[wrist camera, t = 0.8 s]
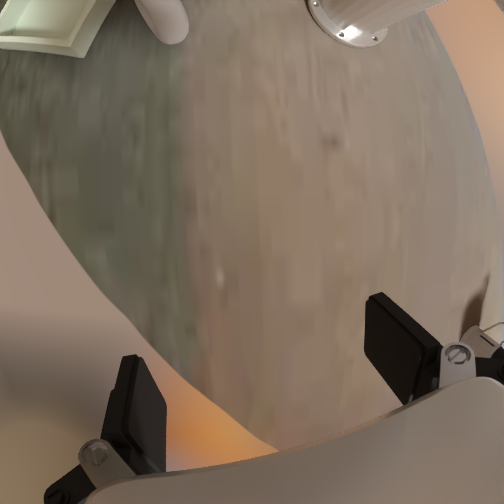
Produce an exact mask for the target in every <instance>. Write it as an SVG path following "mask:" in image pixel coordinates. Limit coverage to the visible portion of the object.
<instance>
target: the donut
mask: <svg viewBox="0 0 504 504" xmlns="http://www.w3.org/2000/svg"><path fill="white" fill-rule="evenodd" d="M134 1H135V3H136V6H137V8H138V10H139V11H140V13H141V15H142V17H143V18H144V20H145V22H146V23H147V25H148V26H149V28H150V29H151V31H152V32H153V33H154V35H155V36H156V37H157V38H158V39H159V40H160V41H161V42H163V43H165V44H177V43H180V42H181V41H183V40H184V39H185V38H186V36H187V34H188V31H189V22H188V17H187V14H186V11H185V9H184V7H183V5H182V2H181V1H180V0H134Z"/></svg>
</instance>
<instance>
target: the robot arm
mask: <svg viewBox="0 0 504 504" xmlns="http://www.w3.org/2000/svg"><path fill="white" fill-rule="evenodd" d="M444 1H447V0H308V6H309V10H310V12H311V14H312V16H313V18H314V20H315V21H316V22H317V24H318V25H319V26H320V27H321V28H322V29H323V30H324V31H325V32H326V33H327V34H328V35H330V36H331V37H332V38H334V39H336V40H337V41H339V42H341V43H343V44H346V45H349V46H352V47H358V48H366V47H371V46H374V45H376V44H378V43H380V42H381V41H382V40H383V39H384V38H385V36H386V35H387V32H388V26H390V25H392V24H394V23H396V22H398V21H401V20H403V19H405V18H407V17H409V16H412V15H414V14H416V13H418V12H421V11H423V10H425V9H427V8H430V7H432V6H435V5H437V4H440V3H442V2H444ZM494 1H495V2H496V4H497V5H498V6H499V8H500V9H501V11H502V12H503V13H504V0H494ZM364 352H365V355H366V357H367V358H368V359H369V360H370V362H371V363H372V364H373V366H374V367H375V368H376V370H377V371H378V372H379V374H380V375H381V376H382V377H383V379H384V380H385V381H386V383H387V384H388V385H389V387H390V388H391V389H392V391H393V392H394V393H395V395H396V396H397V397H398V399H399V400H400V401H401V403H402V404H403V405H404V406H402V407H400V408H397V409H395V410H393V411H391V412H389V413H387V414H384V415H382V416H380V417H378V418H375V419H373V420H371V421H368V422H366V423H363V424H361V425H358V426H356V427H353V428H351V429H348V430H345V431H343V432H340V433H337V434H335V435H332V436H329V437H326V438H323V439H320V440H317V441H314V442H311V443H308V444H305V445H301V446H298V447H294V448H291V449H287V450H284V451H280V452H276V453H272V454H269V455H265V456H260V457H256V458H251V459H247V460H242V461H237V462H232V463H227V464H221V465H215V466H209V467H202V468H195V469H188V470H180V471H171V472H166V416H167V406H166V402H165V400H164V398H163V396H162V394H161V392H160V391H159V389H158V387H157V385H156V383H155V381H154V379H153V378H152V375H151V373H150V371H149V370H148V368H147V366H146V364H145V362H144V360H143V358H142V357H138V356H137V355H136V354H135V355H128V356H123V357H122V361H121V364H120V368H119V372H118V377H117V380H116V384H115V388H114V389H113V390H112V391H111V393H110V397H109V401H108V405H107V410H106V414H105V418H104V423H103V428H102V433H101V437H100V439H92V440H89V441H87V442H86V443H85V444H84V445H82V447H81V448H80V450H79V453H78V460H79V463H80V464H79V465H78V466H76V467H75V468H74V469H72V470H71V471H70V472H68V473H67V474H66V475H65V476H63V477H62V478H60V479H59V480H58V481H56V482H55V483H53V484H52V485H51V486H50V487H49V488H48V489H47V490H46V492H45V494H44V504H504V359H495V358H483V357H475V355H474V351H473V350H472V348H471V347H470V346H468V345H467V344H464V343H460V342H452V343H449V344H447V345H446V346H444V347H443V346H442V345H441V344H440V342H438V341H437V340H436V339H435V338H434V337H433V336H432V335H431V334H430V333H429V332H427V331H426V330H425V329H424V328H423V327H422V326H421V325H420V324H419V323H417V322H416V321H415V320H414V319H413V318H412V317H411V316H410V315H408V314H407V313H406V312H405V311H404V310H403V309H402V308H400V307H399V306H398V305H397V304H396V303H395V302H393V301H392V300H391V299H390V298H389V297H388V296H386V295H385V294H384V293H383V292H380V293H377V294H374V295H371V296H369V299H368V300H367V301H366V306H365V338H364Z"/></svg>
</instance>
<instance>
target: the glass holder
mask: <svg viewBox="0 0 504 504" xmlns="http://www.w3.org/2000/svg"><path fill="white" fill-rule="evenodd" d="M500 324H504V322H501V323H497V324H495V325H493V326H491V327H489V328H487V329H485V330H481V329H480V328H479V326H477V325H474V326H472V327H471V328H469V329H468V330H467V331H466V332H465V334H464V335H463V336H462V338H461V340H460V341H459V342H460V343H464V344H467V345H468V346H470V347H471V348H472V350H473V351H474V355H475V357H483V358H495V359H504V349H503V348H502V346H501V345H502V343H503V342H504V341H502V342H501V343H500V345H499V344H498V343H497V342H495V341H494V340H493V339H492V338H490V337H489V336H488V335H486V334H485V333H484V332H485V331H487V330H489V329H491V328H493V327H495V326H497V325H500Z"/></svg>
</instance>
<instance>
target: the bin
mask: <svg viewBox="0 0 504 504" xmlns="http://www.w3.org/2000/svg"><path fill="white" fill-rule="evenodd" d="M115 2H116V0H8V1H7V3H6V5H5V6H4V8H3V10H2V11H1V13H0V48H2V49H8V50H23V51H33V52H42V53H51V54H58V55H65V56H71V57H77V58H83V59H84V58H85V55H86V53H87V51H88V49H89V47H90V45H91V43H92V41H93V40H94V38H95V36H96V34H97V32H98V30H99V28H100V27H101V25H102V23H103V21H104V20H105V18H106V16H107V15H108V13H109V11H110V10H111V8H112V6H113V5H114V3H115Z"/></svg>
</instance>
